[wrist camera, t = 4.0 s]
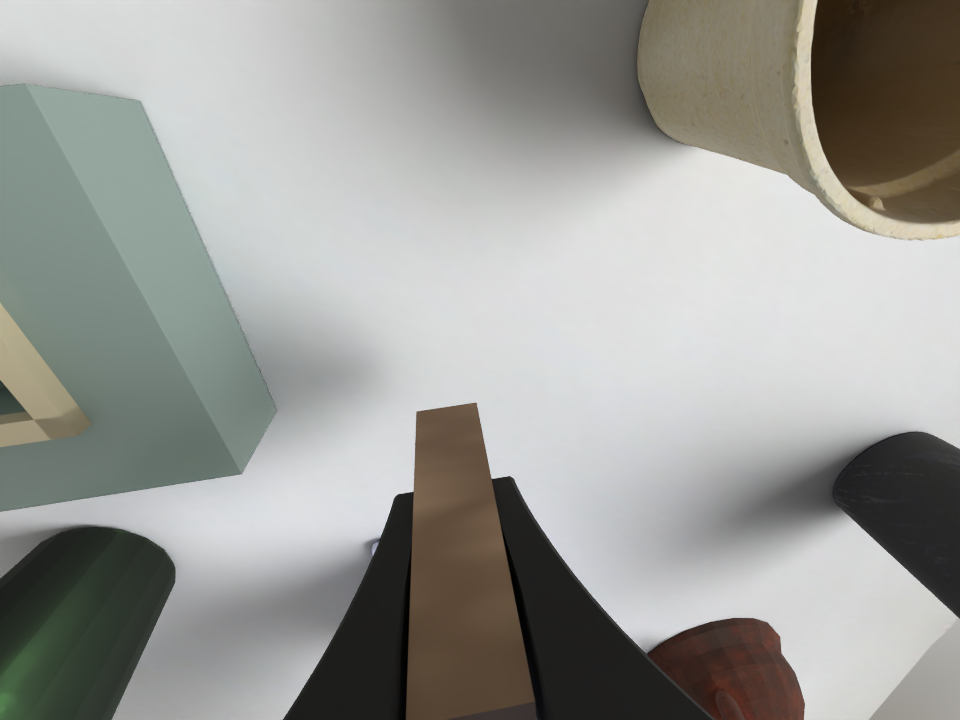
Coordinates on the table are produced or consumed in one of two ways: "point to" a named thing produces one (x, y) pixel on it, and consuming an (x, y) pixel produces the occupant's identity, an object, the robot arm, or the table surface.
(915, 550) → the travel mug
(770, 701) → the lantern
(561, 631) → the robot arm
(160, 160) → the sage green square pedestal
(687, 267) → the table surface
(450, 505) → the brown wooden block
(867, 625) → the table surface
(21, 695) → the potion bottle
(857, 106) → the flower pot
